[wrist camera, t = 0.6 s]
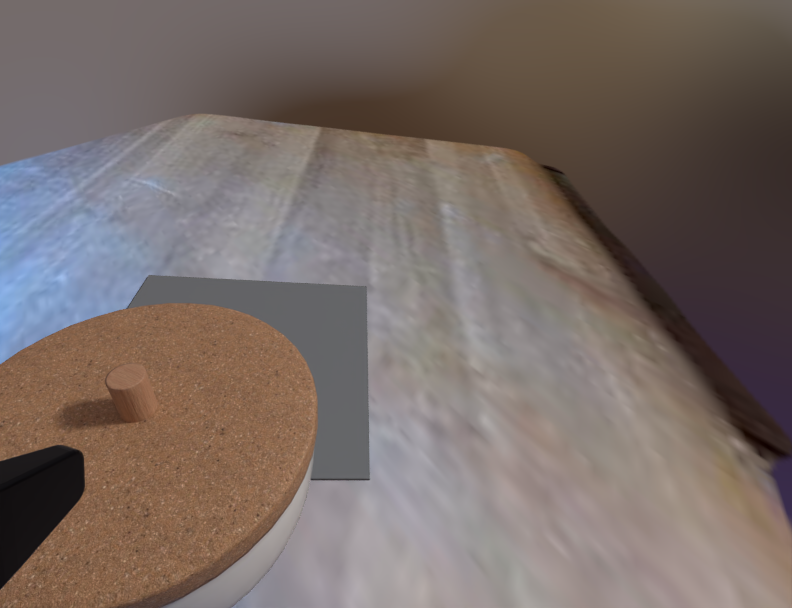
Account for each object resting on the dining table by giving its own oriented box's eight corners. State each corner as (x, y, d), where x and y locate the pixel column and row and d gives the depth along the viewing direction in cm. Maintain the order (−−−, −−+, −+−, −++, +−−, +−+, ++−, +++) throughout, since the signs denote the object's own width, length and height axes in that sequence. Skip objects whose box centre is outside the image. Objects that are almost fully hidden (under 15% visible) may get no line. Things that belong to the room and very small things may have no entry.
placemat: (369, 483, 25) (369, 478, 25) (20, 483, 23) (16, 478, 22) (366, 290, 39) (366, 286, 39) (150, 280, 37) (148, 275, 36)
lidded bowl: (198, 772, 15) (99, 715, 8) (-44, 596, 18) (-264, 449, 11) (360, 472, 25) (376, 328, 18) (181, 388, 28) (136, 237, 21)
